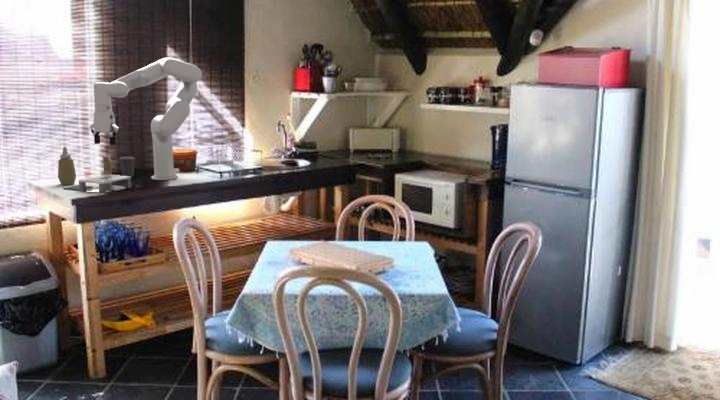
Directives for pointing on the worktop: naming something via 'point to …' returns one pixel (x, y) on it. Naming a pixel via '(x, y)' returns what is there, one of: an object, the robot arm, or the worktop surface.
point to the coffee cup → (127, 166)
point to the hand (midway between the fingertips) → (105, 144)
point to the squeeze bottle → (66, 169)
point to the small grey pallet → (102, 183)
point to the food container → (184, 160)
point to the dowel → (107, 165)
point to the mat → (76, 187)
